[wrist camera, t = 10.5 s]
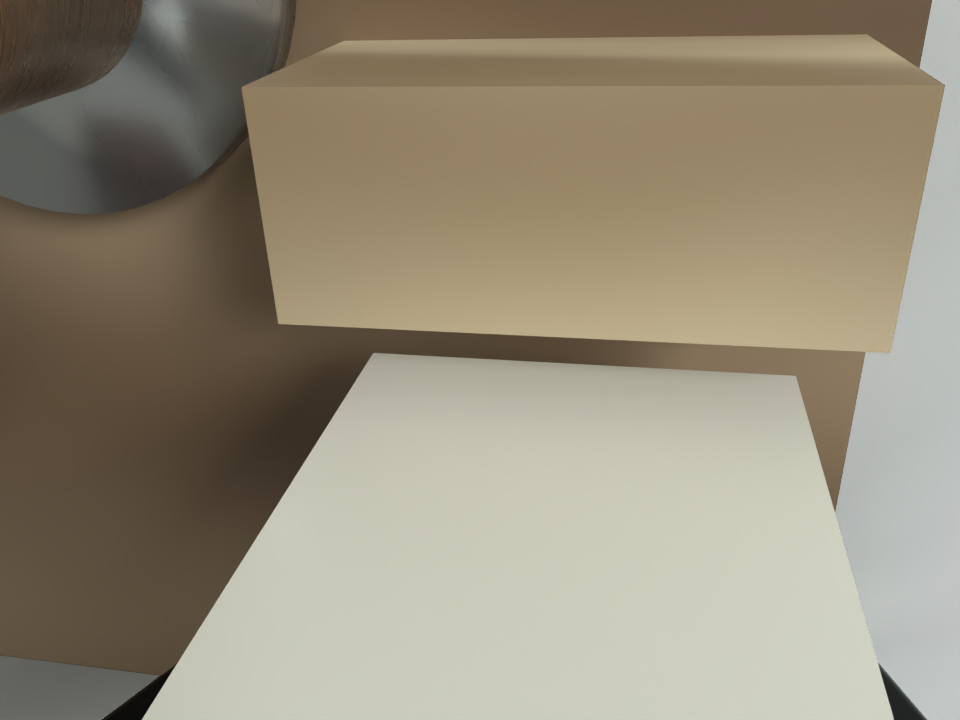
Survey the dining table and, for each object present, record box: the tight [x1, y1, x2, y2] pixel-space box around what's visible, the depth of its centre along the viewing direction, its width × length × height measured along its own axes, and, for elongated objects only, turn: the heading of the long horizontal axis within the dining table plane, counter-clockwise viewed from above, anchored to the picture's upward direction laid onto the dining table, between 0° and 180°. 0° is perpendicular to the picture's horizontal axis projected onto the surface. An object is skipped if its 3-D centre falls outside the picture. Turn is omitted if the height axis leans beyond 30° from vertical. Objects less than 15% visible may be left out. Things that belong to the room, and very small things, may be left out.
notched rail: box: [241, 34, 945, 353], centre depth 10 cm, size 10×5×2 cm, turn 2°
